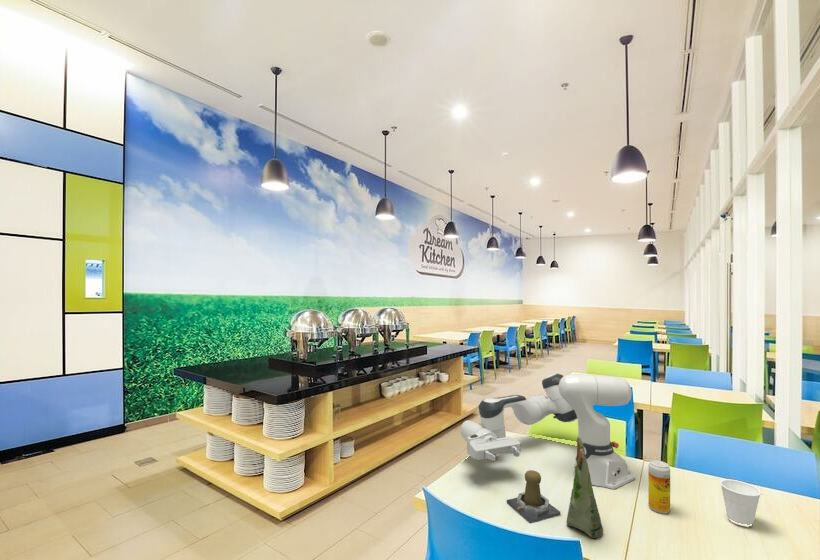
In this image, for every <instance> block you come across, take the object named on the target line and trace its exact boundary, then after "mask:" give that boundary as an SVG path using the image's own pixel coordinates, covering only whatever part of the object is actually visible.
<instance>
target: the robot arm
mask: <svg viewBox="0 0 820 560" xmlns="http://www.w3.org/2000/svg"><path fill="white" fill-rule="evenodd" d="M541 386H542V389H544V393H545V395H543V394H537V395H533V396H529V397H526V396H524V395H519V394H512V395H505V396H498V397H488V398H484V399H482V400H481V402H480V403H479V405H478V406H477V407H478V411H479V417H480V423H477V422H476V421H473V420H469V419H468V420H465V421H463V423H462V424H461V425H460V430H459V431H460V435H461V437H462V439H463V441H465V442H466V452H467V455H469V456H470V457H471V458H472V459H474V460H478V461H479V460H484V459H488V460H491V461H493V462H495V461H498V457H501V456H506V455H512V454H513V456H514V457H515V458H517V457H520V456H521V455H520V452H522V451H521V449H522V445H521V441H519V440H517V439H515V438H512V437H509V436H507V434H506V433H507V432H506V425H505V418H504V415H505V414H504V411H505V409H506V408H511V409H512V413H513V415H514V416H515V418H516V419H517V420H518V421H519V422H520V423H522V424H524V425H526V426H531V425H534V424H536V423H538V422H541V421H542V420H544V419H545V418H546V417H548V416H550V415H553V417H552V418H553V419H557V420H558V422H559V421H560V422H562V423H572V422H574V421H577V427H578V430H577V431H578V436H577V440H576V447H577V448H578V439H579V438H580V439H581V441H582V443H583V446H584V451H585V456H586V460H587V464H588V468H589V473H590V477H591V483H592V486H597V487H603V488H607V489H612V490H615V489H618V488H620V487H621V486H622V487H623V486H624V485H626V484H628V483H630V482H632V481H634V480H636V478H635V474H633V473H632V472H630V470H628V464H627V463H628V462H627V461H626V460H625V459H624V458H623V457H621V456H620V455H619V454H618V453H617V452H616V451H615V450H614V449H619V446H620V444H619V443H618V442H616V441H611V423H610V421H609V420H608V418H607V417H606V416H605V415H603V414H602V413H600V412H597V411H595V410H594V406H608V407H610V406H611V407H617V406H625V405H627V404H629V403H630V401H631V399H632V395H633V393H632V392H633V391H632V390H633V389H632V386H630V383H629V382H628V381H627V380H626V379H624V378H621V377H617V376H611V375H599V374H598V375H597V374H596V375H595V374H577V373H576V374H573V373H572V374H568V375H563V374H562V373H561V374H560V373H550V374H548V375H546V376H545V377H544V379H542V381H541ZM577 448H576V449H577ZM576 457H577V455H576ZM576 457H575V458H576ZM573 465H574V466H573V468H574V470H573V476H575V466H576V465H577V461H576V460H575V463H574V464H573Z"/></svg>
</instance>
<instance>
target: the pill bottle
mask: <svg viewBox="0 0 820 560" xmlns="http://www.w3.org/2000/svg"><path fill="white" fill-rule="evenodd" d="M669 465H670V464H669V463H667V462H665V461H663V460H658V459H652V460H650V461H649V463H648V480H647V481H648V485H647V486H648V493H647V494H648V495H647V496H648V497H647V498H648V503H647V504H648V506H649V507H650V509H651V510H652V511H653V512H655V513H658V514H662V515H663V514H664V515H666V514H668V513H669V512H670V511H671V468H670V466H669Z"/></svg>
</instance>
